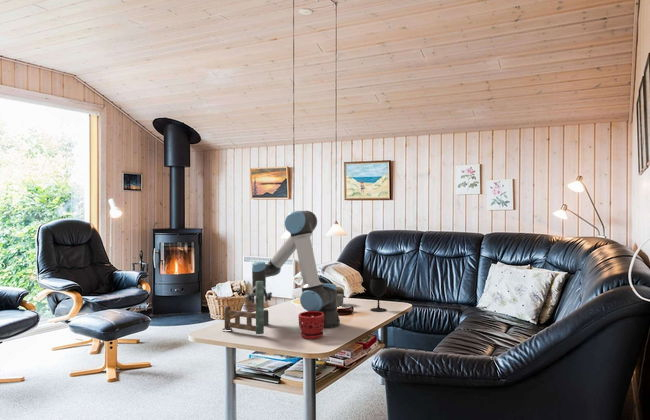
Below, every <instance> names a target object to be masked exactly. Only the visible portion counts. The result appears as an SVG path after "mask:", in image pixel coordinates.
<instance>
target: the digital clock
mask: <svg viewBox="0 0 650 420" xmlns="http://www.w3.org/2000/svg"><path fill="white" fill-rule="evenodd" d="M344 297H345V294H344V295H343V294H337V307H339V306H343V307H344Z"/></svg>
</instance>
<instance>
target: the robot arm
mask: <svg viewBox="0 0 650 420" xmlns="http://www.w3.org/2000/svg"><path fill="white" fill-rule="evenodd" d="M317 225H318V218H317V216H316V214H315V213H314V212H312V211H310V210H295V211H291V212H289V213H288V214H287V215H286V217H285V219H284V227H285V228H284V229H285V230H286V231H287V232H288V233H289V234H290V235H289V236H288V238H286V240H285V241H284V243H283V244H282V245H281V247H280V248H279V249H278V251H276V253H275V254H274V255H273V257H272V258H271V259H270V260H269V261H268V263H266V262H264V261H255V262H253V263H252V264H251V265H252V267H251V271H252V272H251V277H252V283H251V284H252V285H251V286H252V287H251V289H252V290H251V293H250V292H247V293H246V299H247V301H249V302H252V304H254V305H256V281H263V289H264V304H266V302H268V301H271V299H272V297H273V293H272V292H267V288H266V287H267V285H266V282H267V280H266V279H267V278H270V277H275V276H277V275H279V274H280V273H281V270H282V267H283V266H284V265H285V263H286V262H287V261H288V260H289V259H290V257H291V256H292V255H293V254H294V252H296V254H297V259H298V263H299V268H300V273H301V277H302V279H301V280H302V283H303V284H302V286H301V295H300V297H299V302H300V305H301V307H302V308H303V309H304V310H305V311H306V312H307V311H319V312H323V313H324V327H323V329H325V328H326V329H329V328H337V327H339V326H341V320H340V316H339V313H338V312H337V287H338V286H337V285H336V284H334V283H327V282H326V283H323V282H322V281H320V279H319V274H318V269H317V264H316V259H315V254H314V249H313V244H312V239H311V237H312V235H313V232H314V230H315V229H316V227H317Z"/></svg>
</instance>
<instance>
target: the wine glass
mask: <svg viewBox="0 0 650 420" xmlns="http://www.w3.org/2000/svg"><path fill="white" fill-rule="evenodd" d="M387 285H388V284H387V279H386V278H385V277H371V279H370V283H369V287H370V292H371V294H372V295H373V296H375V297H376V298H377V307H372V308H370V310H369V311H371V312H374V313H381V312H382V313H384V312H387V309H386V308H382V307H380V298H381V297H382V296H383V295H384V294H386V292H387V290H388V288H387V287H388V286H387Z"/></svg>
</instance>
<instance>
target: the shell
mask: <svg viewBox="0 0 650 420" xmlns="http://www.w3.org/2000/svg"><path fill="white" fill-rule="evenodd" d="M336 287H337V294H343V295H344V296H345V291H344V289H343V287H342V286H341V287H340V286H336Z"/></svg>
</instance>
